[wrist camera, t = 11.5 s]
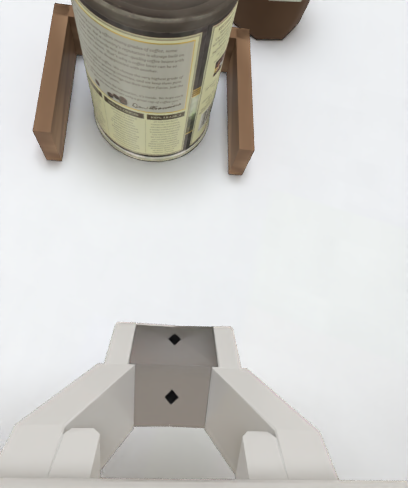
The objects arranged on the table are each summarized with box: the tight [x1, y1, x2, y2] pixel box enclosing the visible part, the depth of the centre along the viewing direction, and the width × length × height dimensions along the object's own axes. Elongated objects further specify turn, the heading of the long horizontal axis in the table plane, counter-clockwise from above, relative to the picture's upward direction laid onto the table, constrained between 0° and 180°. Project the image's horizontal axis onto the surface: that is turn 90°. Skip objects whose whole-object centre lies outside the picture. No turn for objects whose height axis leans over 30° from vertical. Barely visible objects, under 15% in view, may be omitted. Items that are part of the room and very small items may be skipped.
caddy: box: [33, 3, 254, 175], centre depth 32 cm, size 16×12×4 cm
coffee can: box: [71, 0, 238, 161], centre depth 27 cm, size 10×10×14 cm
